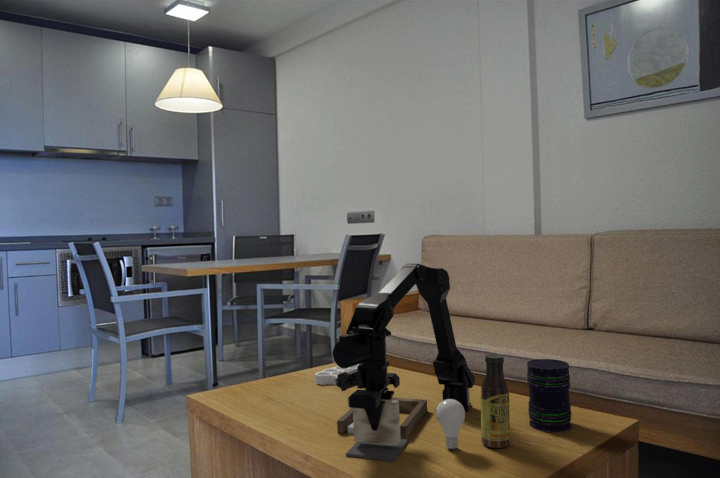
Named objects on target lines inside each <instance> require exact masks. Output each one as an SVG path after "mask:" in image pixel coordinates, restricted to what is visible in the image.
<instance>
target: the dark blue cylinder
mask: <svg viewBox="0 0 720 478" xmlns="http://www.w3.org/2000/svg"><path fill="white" fill-rule="evenodd" d="M526 367H527V369H526V372H527V373H526V379H527V387H528V394H529V395H528V396H529V397H528V398H529V400H528V410H527V411H528V418H529V424H528V425H529V426H530V427H531V428H532V429H534V430H537V431H541V432H546V433H564V432H567V431H569V430H571V429H572V423H571V421H572V410H571V409H572V407H571V406H572V405H571V402H570V388H571V383H570V381H571V377H570V376H571V375H570V370H569V369H570V364H569V362H567V361H564V360H560V359H549V358H541V359H540V358H538V359H532V360H528V361H527V362H526Z"/></svg>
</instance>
